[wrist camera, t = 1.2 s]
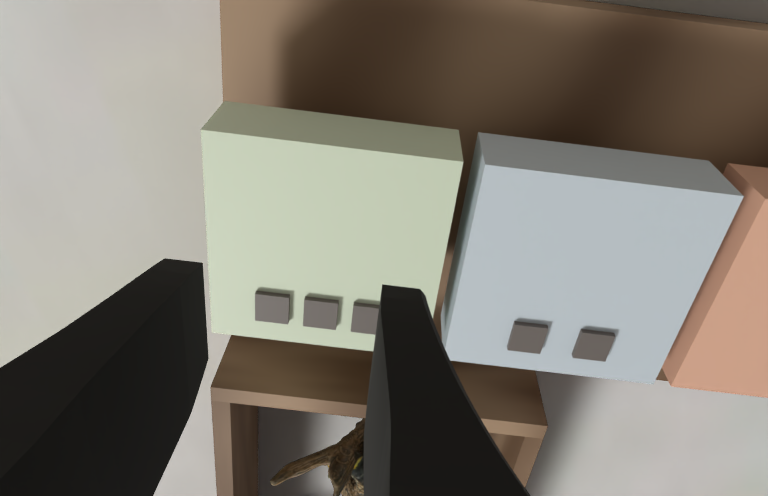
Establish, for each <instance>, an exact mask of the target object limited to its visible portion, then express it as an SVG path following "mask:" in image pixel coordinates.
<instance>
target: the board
mask: <svg viewBox="0 0 768 496" xmlns="http://www.w3.org/2000/svg"><path fill="white" fill-rule="evenodd" d="M220 21H221V51H222V82H223V102H224V101H230V102H238V103H246V104H254V105H262V106H270V107H278V108H286V109H294V110H302V111H311V112H319V113H327V114H335V115H343V116H351V117H359V118H367V119H375V120H383V121H392V122H400V123H408V124H416V125H424V126H432V127H440V128H448V129H456V130H459V135H460V142H461V149H462V155H463V167H462V172H461V177H460V182H459V187H458V192H457V197H456V203H455V208H454V213H453V218H452V223H451V228H450V233H449V238H448V243H447V248H446V254H445V259H444V264H443V269H442V274H441V279H440V284H439V289H438V294H437V300H436V305H435V310H434V315H433V321H434V323H435V326H436V329H437V331H438V334H439V336H440V338H441V341H442V332H441V311H442V306H443V301H444V297H445V292H446V287H447V282H448V277H449V272H450V267H451V262H452V257H453V252H454V248H455V243H456V238H457V233H458V228H459V223H460V218H461V213H462V208H463V203H464V199H465V194H466V189H467V184H468V179H469V174H470V169H471V164H472V159H473V154H474V150H475V145H476V140H477V135H478V132H481V133H489V134H497V135H505V136H513V137H521V138H529V139H537V140H546V141H554V142H562V143H570V144H578V145H586V146H594V147H602V148H610V149H618V150H627V151H635V152H643V153H651V154H659V155H667V156H675V157H683V158H691V159H699V160H708V161H710V162H711V163H712V164H713V165H714V166H715V167H716V168H717V169H718V170H719V171H720V173H721V174H722V175H723V173H724V171H725V168H726V166H727V164H728V163H732V164H740V165H748V166H756V167H764V168H768V24H765V23H757V22H750V21H742V20H734V19H726V18H718V17H710V16H703V15H695V14H687V13H679V12H671V11H663V10H655V9H648V8H640V7H632V6H624V5H616V4H608V3H600V2H593V1H585V0H220ZM372 357H373V351H365V350H356V349H348V348H339V347H331V346H322V345H314V344H305V343H297V342H288V341H280V340H271V339H262V338H254V337H245V336H237V335H231V337H230V340H229V342H228V345H227V347H226V350H225V352H224V355H223V357H222V360H221V362H220V365H219V367H218V370H217V372H216V375H215V377H214V380H213V382H212V385H211V404H212V421H213V437H214V454H215V471H216V487H217V496H258V406H263V407H271V408H280V409H289V410H297V411H306V412H315V413H323V414H332V415H341V416H349V417H358V418H366V409H367V399H368V390H369V380H370V372H371V365H372ZM451 363H452V365H453V367H454V369H455V371H456V373H457V375H458V377H459V379H460V381H461V383H462V385H463V387H464V389H465V391H466V393H467V395H468V397H469V399H470V401H471V402H472V404H473V406H474V408H475V410H476V411H477V413H478V415H479V417H480V418H481V420H482V422H483V423H484V425H485V427H486V429H487V430H488V432H489V434H490V435H491V437H492V439H493V440H494V442H495V444H496V445H497V447H498V448H499V450H500V452H501V453H502V455H503V456H504V458H505V459H506V461H507V462H508V464H509V465H510V467H511V468H512V470H513V471H514V473H515V474H516V476H517V477H518V479H519V480H520V481H521V483H522V484H523V486H524V487H526V484H527V481H528V479H529V476H530V473H531V470H532V468H533V465H534V462H535V460H536V457H537V454H538V452H539V449H540V446H541V444H542V441H543V438H544V435H545V433H546V430H547V427H548V424H547V420H546V416H545V411H544V407H543V403H542V398H541V394H540V389H539V385H538V381H537V376H536V372H535V370H527V369H519V368H510V367H502V366H493V365H484V364H476V363H467V362H459V361H451ZM656 380H663V381H668V379H667V377H666V375H665V373H664V371H663V369H662V368H661V370H660V372H659V374H658V376H657V378H656Z"/></svg>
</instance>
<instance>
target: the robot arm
mask: <svg viewBox="0 0 768 496" xmlns="http://www.w3.org/2000/svg"><path fill="white" fill-rule="evenodd" d="M207 361H208V344H207V328H206V311H205V295H204V278H203V263H198V262H190V261H182V260H173V259H163V260H162V261H160V262H159V263H157V264H156V265H154V266H153V267H151V268H150V269H148V270H147V271H145V272H144V273H143V274H141V275H140V276H138V277H137V278H135V279H134V280H133V281H131V282H130V283H128V284H127V285H126V286H124V287H123V288H121V289H120V290H119V291H117V292H116V293H114V294H113V295H112V296H110V297H109V298H107V299H106V300H104V301H103V302H101V303H100V304H99V305H97V306H96V307H94V308H93V309H91V310H90V311H88V312H87V313H85V314H84V315H82V316H81V317H80V318H78V319H77V320H75V321H74V322H72V323H71V324H69V325H68V326H66V327H65V328H63V329H62V330H60V331H59V332H57V333H56V334H54V335H52V336H51V337H49V338H48V339H46V340H44V341H43V342H41V343H40V344H38V345H36V346H35V347H33V348H32V349H30V350H28V351H27V352H25V353H23V354H22V355H20V356H19V357H17V358H15V359H14V360H12V361H11V362H9V363H7V364H6V365H4V366H3V367H1V368H0V496H153V494H154V492H155V490H156V488H157V486H158V484H159V482H160V479H161V477H162V475H163V473H164V471H165V469H166V467H167V464H168V462H169V460H170V458H171V456H172V454H173V452H174V449H175V447H176V445H177V443H178V441H179V439H180V436H181V434H182V432H183V430H184V428H185V425H186V423H187V421H188V419H189V417H190V414H191V412H192V409H193V406H194V403H195V400H196V397H197V394H198V390H199V387H200V384H201V381H202V378H203V374H204V371H205V368H206V365H207ZM364 496H530V494H529V493H528V492H527V490H526V489H525V487H524V486H523V484H522V483H521V481H520V480H519V479H518V477H517V476H516V474H515V473H514V471H513V470H512V468H511V467H510V465H509V464H508V462H507V461H506V459H505V458H504V456H503V455H502V453H501V452H500V450H499V448H498V447H497V445H496V444H495V442H494V440H493V439H492V437H491V435H490V434H489V432H488V430H487V429H486V427H485V425H484V423H483V422H482V420H481V418H480V417H479V415H478V413H477V411H476V410H475V408H474V406H473V404H472V402H471V401H470V399H469V397H468V395H467V393H466V391H465V389H464V387H463V385H462V383H461V381H460V379H459V377H458V375H457V373H456V371H455V369H454V367H453V365H452V363H451V361H450V359H449V357H448V354H447V352H446V350H445V348H444V346H443V343H442V341H441V338H440V336H439V334H438V331H437V329H436V326H435V323H434V321H433V318H432V315H431V312H430V309H429V306H428V303H427V299H426V296H425V294H424V293H423V292H422V291H421V289H417V288H409V287H400V286H392V285H383V284H382V290H381V297H380V305H379V312H378V320H377V327H376V335H375V342H374V350H373V357H372V365H371V372H370V380H369V390H368V399H367V409H366V418H365V428H364Z"/></svg>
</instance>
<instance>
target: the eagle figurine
mask: <svg viewBox="0 0 768 496" xmlns="http://www.w3.org/2000/svg"><path fill="white" fill-rule="evenodd" d="M364 428H365V418H363V419H362V421H360V422H358V423H356V427H355V429H354V430H352V431H351V432H350V433H349V434H348V435H346V436H344V437H343V438H342V439H341V441H339V442H338V443H337V444H335V445H332V446H330V447H328V448H325V449H323V450H321V451H319V452H316V453H314V454H311V455H309V456H306V457H304V458H301V459H299V460H297V461H294V462H291V463H289V464H287V465H286V466H284V467H283V468H282V469H281V470H280V471H279V472H278V473H277V474H276V475H275V476H274V477H273V478H272V479H271V480H270V483H271V485H273V486H276V485H279V484H280V483H282V482H284V481H286V480H287V479H290V478H293V477H297V476H300V475H302V474H304V473H306V472H308V471H310V470H312V469H314V468H316V467H318V466H321V465H325V466H326V465H328V468H329V469H328V478H329V479H330V480H331V482H332V484H333V487H334V494H333V496H339V495H340V493H341V494H342V496H364Z"/></svg>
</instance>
